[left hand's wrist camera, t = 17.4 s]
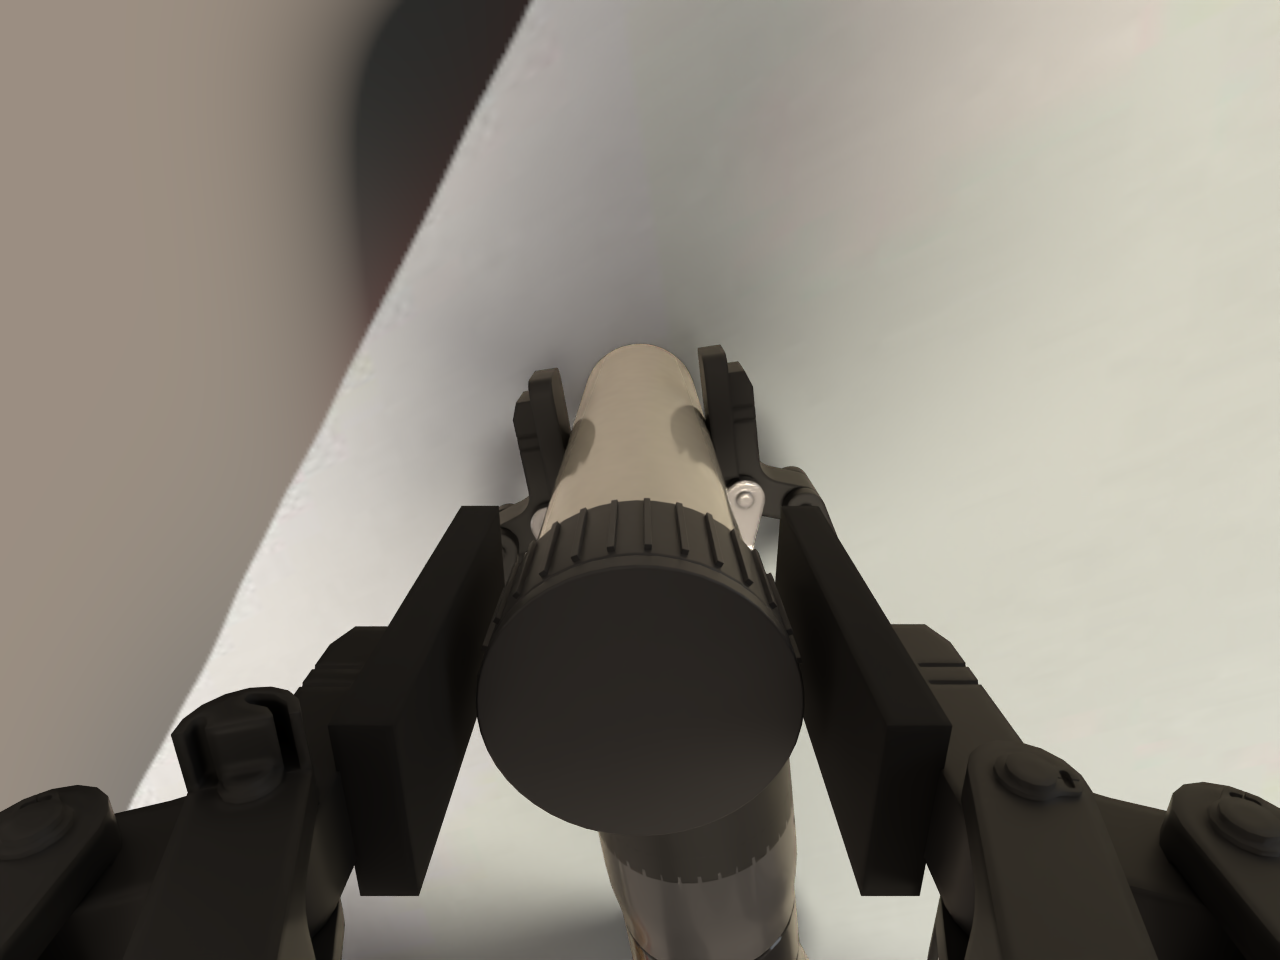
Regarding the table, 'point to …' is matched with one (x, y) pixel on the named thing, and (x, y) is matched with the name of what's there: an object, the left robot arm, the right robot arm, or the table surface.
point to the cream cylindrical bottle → (640, 441)
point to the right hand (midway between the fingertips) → (626, 365)
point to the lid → (640, 671)
